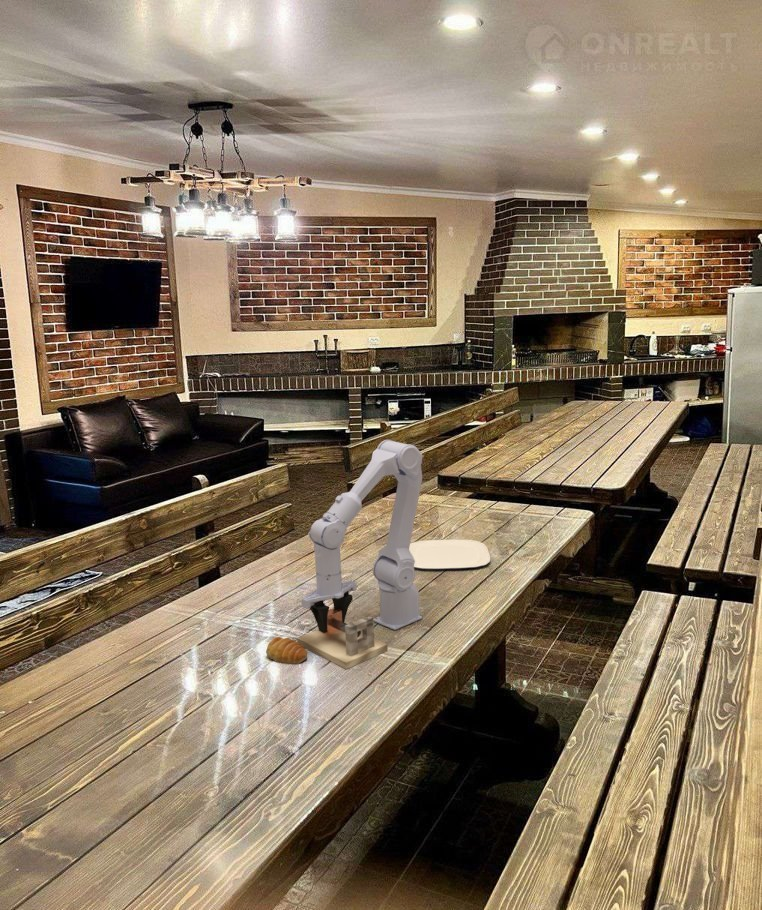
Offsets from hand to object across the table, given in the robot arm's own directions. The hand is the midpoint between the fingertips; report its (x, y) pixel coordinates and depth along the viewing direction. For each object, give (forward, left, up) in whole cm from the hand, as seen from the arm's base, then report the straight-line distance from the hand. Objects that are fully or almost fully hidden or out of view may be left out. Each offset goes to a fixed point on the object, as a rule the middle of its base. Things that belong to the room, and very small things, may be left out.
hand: (331, 628), depth 175 cm
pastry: (+11, -2, -4) cm, 12 cm away
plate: (-61, -20, -4) cm, 64 cm away
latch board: (0, +3, -4) cm, 5 cm away
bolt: (0, +4, -1) cm, 4 cm away
